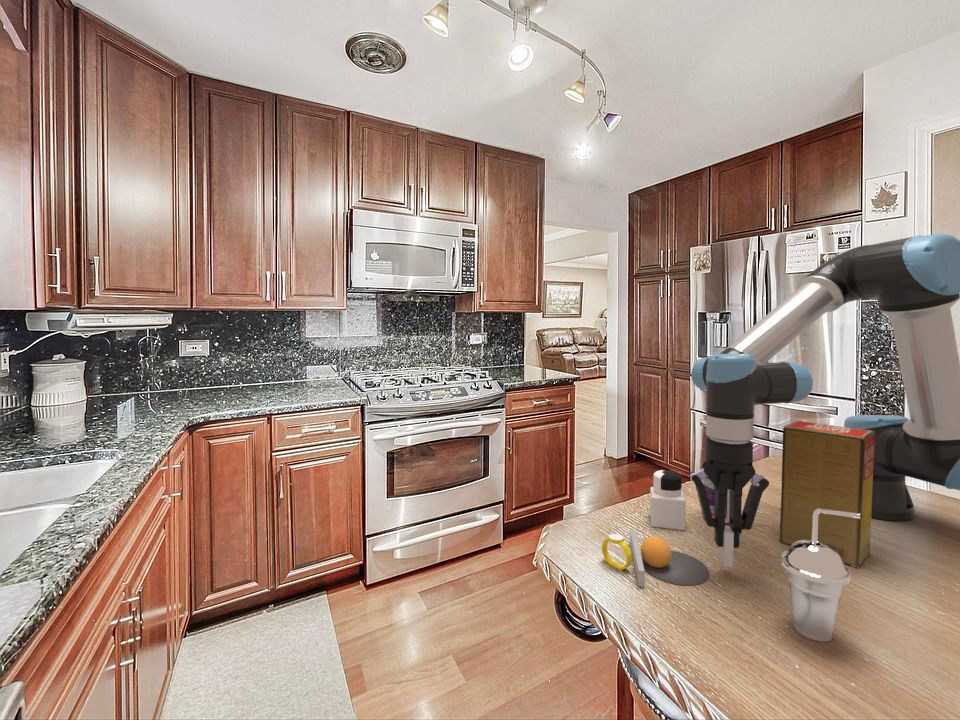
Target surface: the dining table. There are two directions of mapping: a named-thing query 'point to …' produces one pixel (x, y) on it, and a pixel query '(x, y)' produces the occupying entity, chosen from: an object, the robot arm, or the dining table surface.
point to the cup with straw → (815, 581)
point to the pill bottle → (711, 494)
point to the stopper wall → (637, 559)
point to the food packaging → (828, 486)
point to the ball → (656, 552)
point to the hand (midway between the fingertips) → (726, 562)
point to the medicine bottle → (667, 501)
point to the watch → (620, 540)
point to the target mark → (680, 570)
